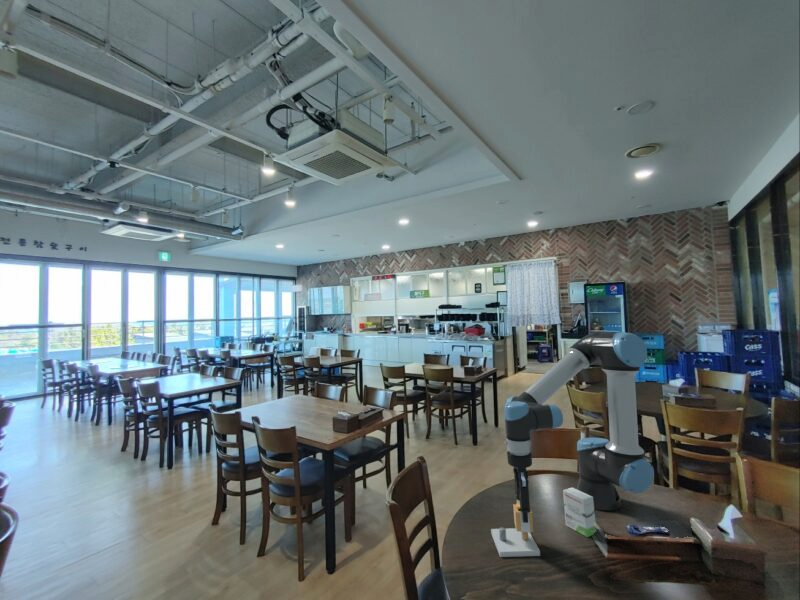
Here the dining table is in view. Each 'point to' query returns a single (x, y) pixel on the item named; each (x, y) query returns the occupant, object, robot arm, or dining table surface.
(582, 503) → the ink box
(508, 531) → the plate
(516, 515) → the tan stud block
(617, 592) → the dining table surface
